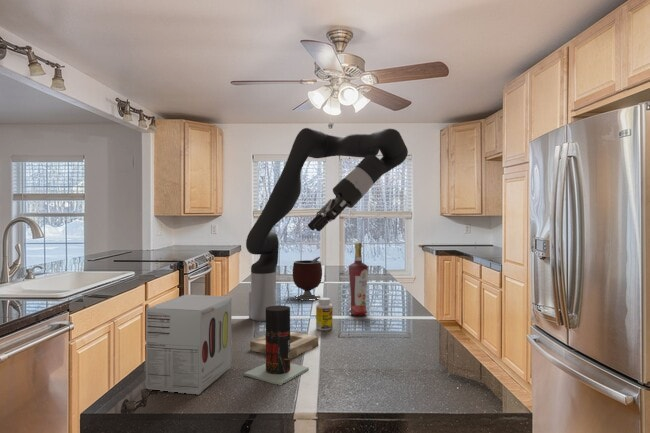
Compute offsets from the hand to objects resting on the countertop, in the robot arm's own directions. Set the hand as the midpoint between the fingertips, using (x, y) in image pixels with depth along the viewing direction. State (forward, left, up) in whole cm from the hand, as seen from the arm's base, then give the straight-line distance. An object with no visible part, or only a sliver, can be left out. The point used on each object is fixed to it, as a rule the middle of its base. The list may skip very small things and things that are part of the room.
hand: (312, 228), depth 109 cm
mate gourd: (-46, +65, -35) cm, 87 cm away
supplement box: (-16, -27, -35) cm, 47 cm away
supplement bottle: (-12, +25, -35) cm, 45 cm away
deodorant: (-1, -14, -34) cm, 37 cm away
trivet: (-1, -14, -35) cm, 37 cm away
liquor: (-11, +48, -35) cm, 60 cm away
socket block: (-11, +2, -35) cm, 36 cm away
